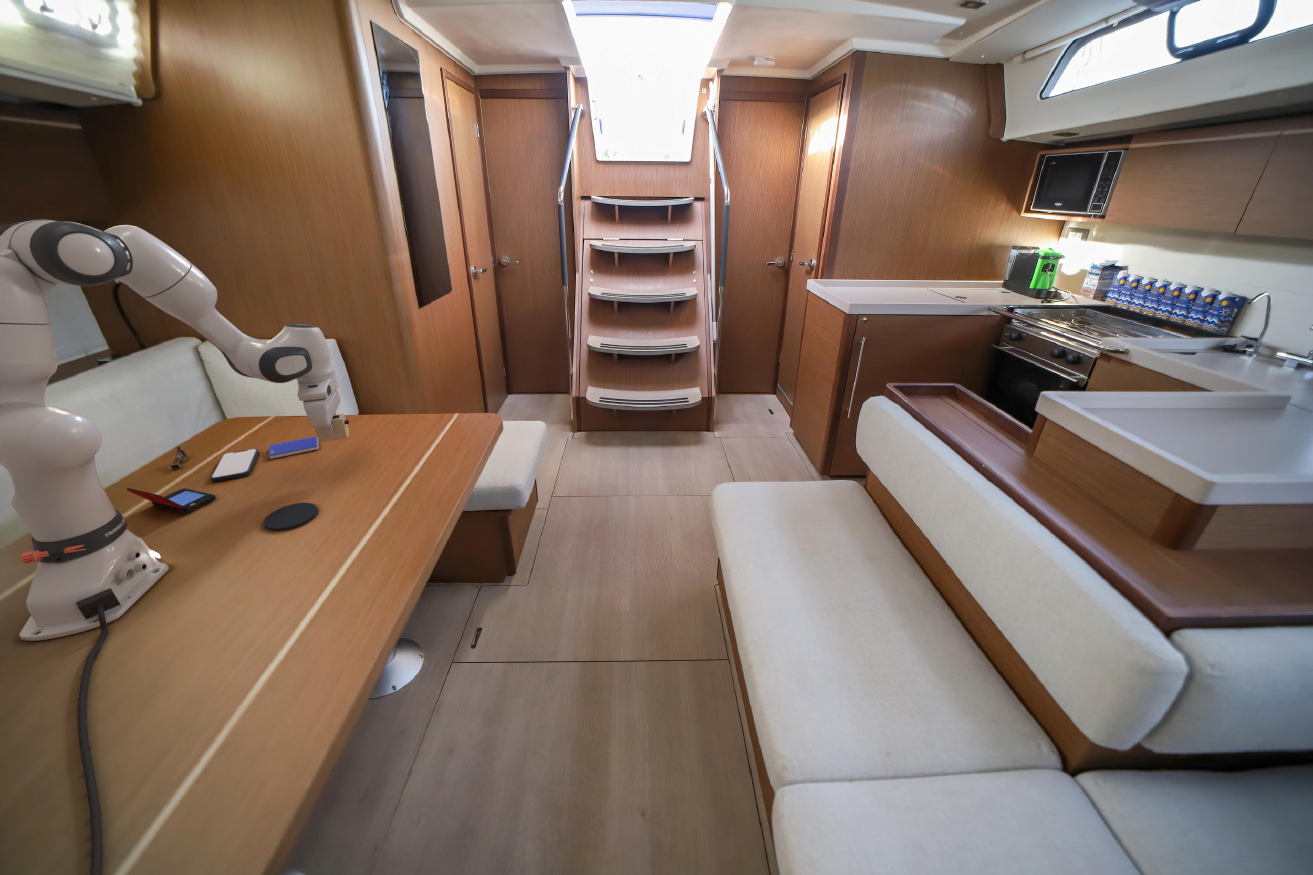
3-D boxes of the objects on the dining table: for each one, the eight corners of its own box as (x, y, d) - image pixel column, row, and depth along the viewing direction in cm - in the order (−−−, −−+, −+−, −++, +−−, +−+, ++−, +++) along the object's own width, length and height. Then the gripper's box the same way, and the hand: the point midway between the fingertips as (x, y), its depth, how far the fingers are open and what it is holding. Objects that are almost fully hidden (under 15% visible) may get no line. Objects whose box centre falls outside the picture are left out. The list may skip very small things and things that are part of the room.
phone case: (250, 476, 141) (260, 452, 153) (248, 471, 140) (258, 447, 153) (211, 484, 137) (224, 458, 150) (208, 479, 136) (222, 453, 149)
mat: (313, 525, 120) (312, 522, 120) (258, 535, 117) (257, 532, 116) (322, 501, 129) (321, 499, 129) (271, 510, 126) (270, 507, 125)
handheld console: (219, 498, 130) (208, 474, 127) (172, 522, 121) (159, 496, 118) (185, 490, 133) (173, 466, 130) (137, 512, 124) (123, 487, 121)
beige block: (351, 438, 141) (345, 418, 138) (318, 442, 138) (312, 422, 136) (353, 432, 144) (347, 412, 142) (321, 436, 142) (315, 416, 139)
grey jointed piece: (191, 452, 151) (182, 443, 147) (185, 473, 146) (177, 463, 143) (183, 453, 150) (175, 444, 147) (177, 474, 146) (169, 465, 142)
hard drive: (268, 455, 149) (317, 445, 155) (269, 444, 155) (316, 435, 161) (270, 459, 149) (318, 449, 155) (271, 449, 155) (317, 439, 162)
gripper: (313, 373, 142) (326, 417, 148) (295, 397, 125) (311, 446, 131) (338, 370, 144) (350, 415, 150) (324, 394, 127) (339, 443, 133)
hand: (332, 430), depth 140 cm, fingers closed on beige block, 4 cm apart
